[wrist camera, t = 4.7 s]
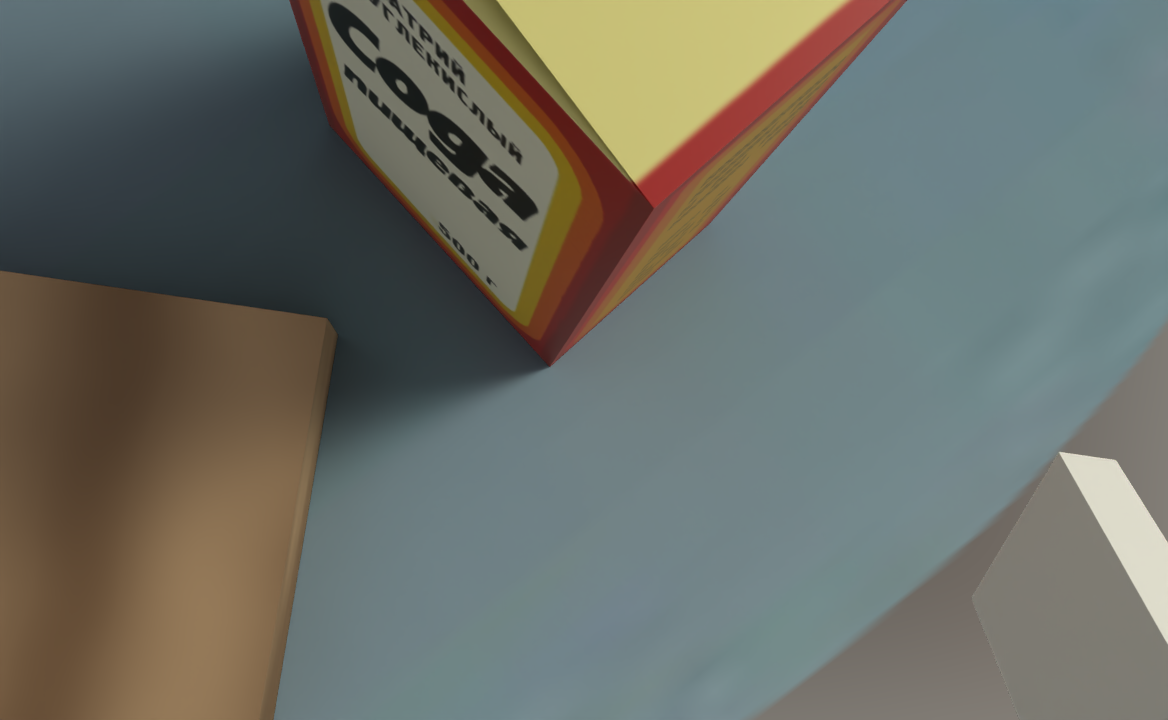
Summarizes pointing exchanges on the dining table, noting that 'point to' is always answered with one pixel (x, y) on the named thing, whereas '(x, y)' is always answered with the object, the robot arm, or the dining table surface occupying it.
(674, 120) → the baking soda box
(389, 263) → the dining table surface
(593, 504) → the dining table surface
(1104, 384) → the dining table surface
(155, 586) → the plinth
